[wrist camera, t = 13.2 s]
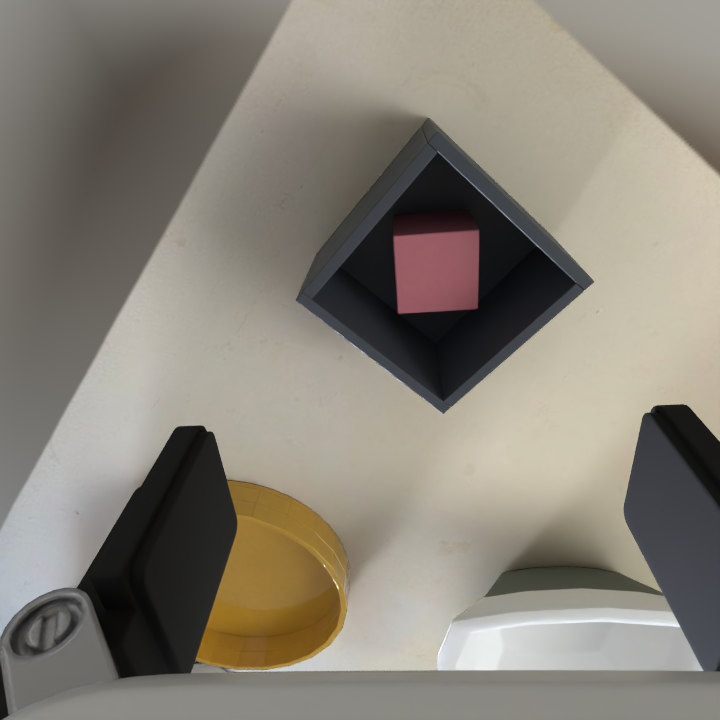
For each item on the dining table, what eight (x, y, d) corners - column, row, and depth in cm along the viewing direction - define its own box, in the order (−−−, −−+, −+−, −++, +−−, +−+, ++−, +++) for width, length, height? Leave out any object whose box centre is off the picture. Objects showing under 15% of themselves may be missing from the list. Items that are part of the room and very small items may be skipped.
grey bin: (435, 350, 36) (443, 414, 29) (316, 254, 33) (295, 300, 26) (553, 237, 31) (595, 282, 25) (428, 117, 29) (437, 131, 22)
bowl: (431, 680, 54) (437, 777, 46) (429, 515, 43) (435, 608, 35) (657, 684, 52) (701, 787, 44) (715, 513, 41) (785, 611, 33)
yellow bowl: (162, 634, 53) (148, 669, 50) (97, 482, 44) (74, 514, 40) (359, 635, 51) (357, 671, 48) (336, 476, 42) (331, 508, 38)
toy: (397, 286, 33) (397, 314, 29) (393, 215, 31) (392, 235, 27) (469, 281, 32) (478, 309, 29) (469, 209, 30) (479, 229, 27)
